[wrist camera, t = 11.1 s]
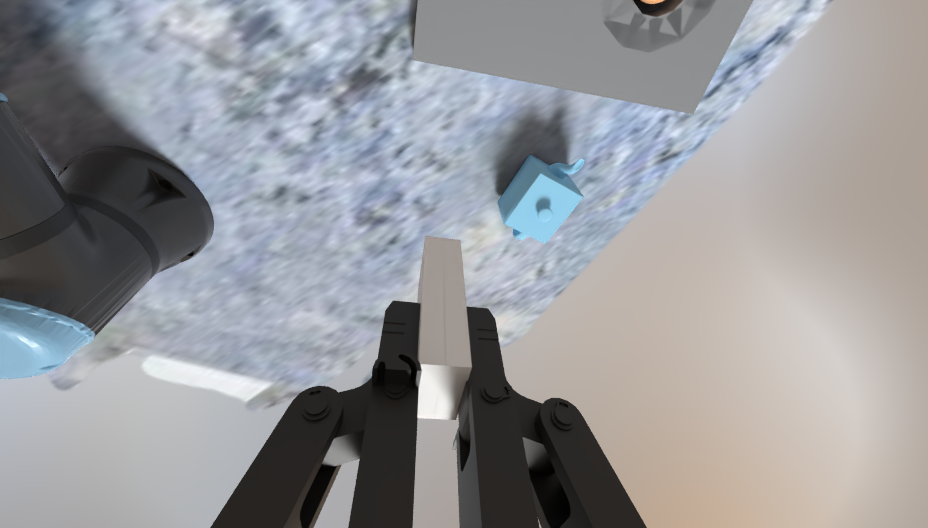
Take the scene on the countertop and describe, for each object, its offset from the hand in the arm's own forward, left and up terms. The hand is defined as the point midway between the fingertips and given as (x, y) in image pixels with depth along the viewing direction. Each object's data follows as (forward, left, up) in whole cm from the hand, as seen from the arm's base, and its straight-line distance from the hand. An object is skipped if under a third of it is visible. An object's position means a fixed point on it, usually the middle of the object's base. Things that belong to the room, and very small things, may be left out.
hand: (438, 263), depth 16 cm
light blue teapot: (+13, -7, -30) cm, 33 cm away
